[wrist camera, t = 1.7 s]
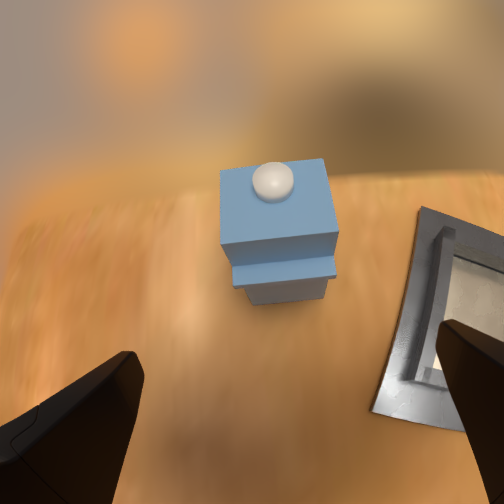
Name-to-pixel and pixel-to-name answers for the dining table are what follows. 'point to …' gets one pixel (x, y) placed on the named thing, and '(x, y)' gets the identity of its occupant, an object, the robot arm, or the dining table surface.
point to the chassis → (440, 314)
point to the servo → (279, 230)
